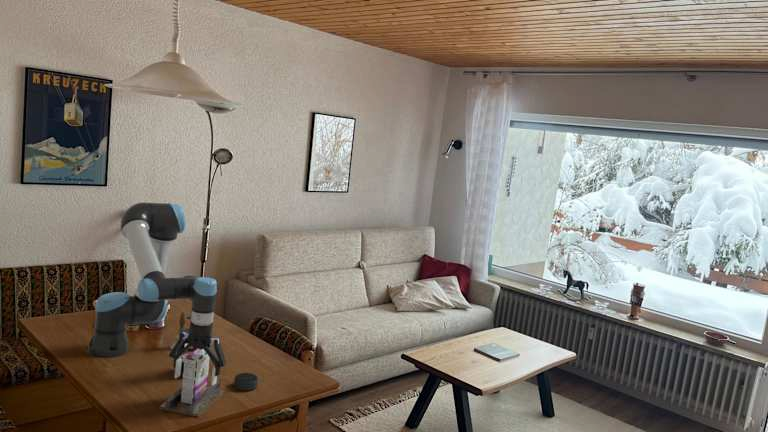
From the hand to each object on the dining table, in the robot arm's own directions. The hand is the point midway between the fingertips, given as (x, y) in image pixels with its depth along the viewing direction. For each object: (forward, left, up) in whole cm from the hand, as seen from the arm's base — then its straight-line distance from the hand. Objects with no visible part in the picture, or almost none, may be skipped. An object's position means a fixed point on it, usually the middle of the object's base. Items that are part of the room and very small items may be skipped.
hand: (195, 380), depth 205 cm
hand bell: (-27, +43, -8) cm, 51 cm away
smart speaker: (+12, +19, -8) cm, 24 cm away
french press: (-13, +20, -8) cm, 25 cm away
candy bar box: (0, 0, -7) cm, 7 cm away
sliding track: (0, 0, -7) cm, 7 cm away
